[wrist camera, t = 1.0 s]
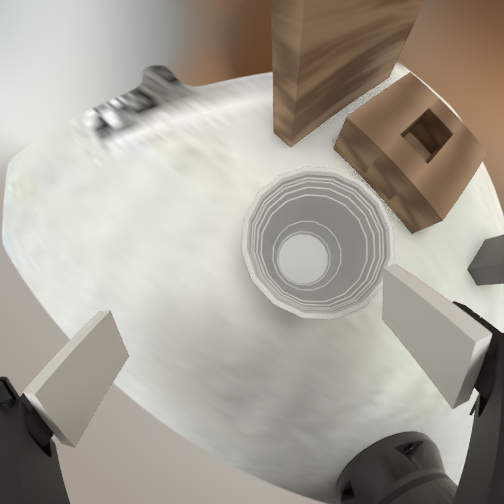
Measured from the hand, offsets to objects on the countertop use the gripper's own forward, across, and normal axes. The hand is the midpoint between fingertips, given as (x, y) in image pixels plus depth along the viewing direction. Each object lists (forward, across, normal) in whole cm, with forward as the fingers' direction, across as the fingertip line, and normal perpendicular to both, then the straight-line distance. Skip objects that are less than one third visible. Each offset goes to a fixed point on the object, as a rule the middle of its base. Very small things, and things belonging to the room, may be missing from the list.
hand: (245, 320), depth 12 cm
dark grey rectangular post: (+15, -31, +8) cm, 35 cm away
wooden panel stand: (+22, -20, -9) cm, 31 cm away
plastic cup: (+18, -5, +3) cm, 19 cm away
